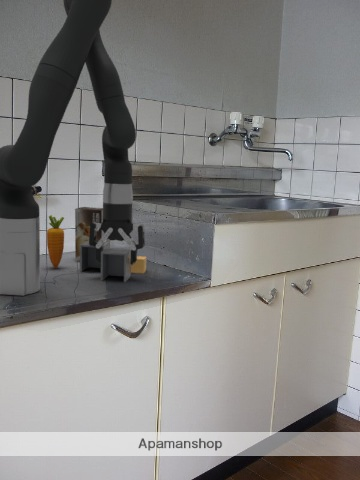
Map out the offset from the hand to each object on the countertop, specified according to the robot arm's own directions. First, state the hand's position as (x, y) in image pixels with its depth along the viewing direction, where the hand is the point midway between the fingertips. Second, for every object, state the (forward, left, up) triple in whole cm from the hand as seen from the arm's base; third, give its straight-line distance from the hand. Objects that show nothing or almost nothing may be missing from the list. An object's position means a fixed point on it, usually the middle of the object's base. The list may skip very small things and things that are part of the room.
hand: (116, 263), depth 129 cm
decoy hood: (+8, +8, -4) cm, 12 cm away
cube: (+10, -4, -4) cm, 11 cm away
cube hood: (0, 0, -4) cm, 4 cm away
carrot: (+7, +19, -4) cm, 21 cm away
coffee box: (+20, +12, -4) cm, 24 cm away
